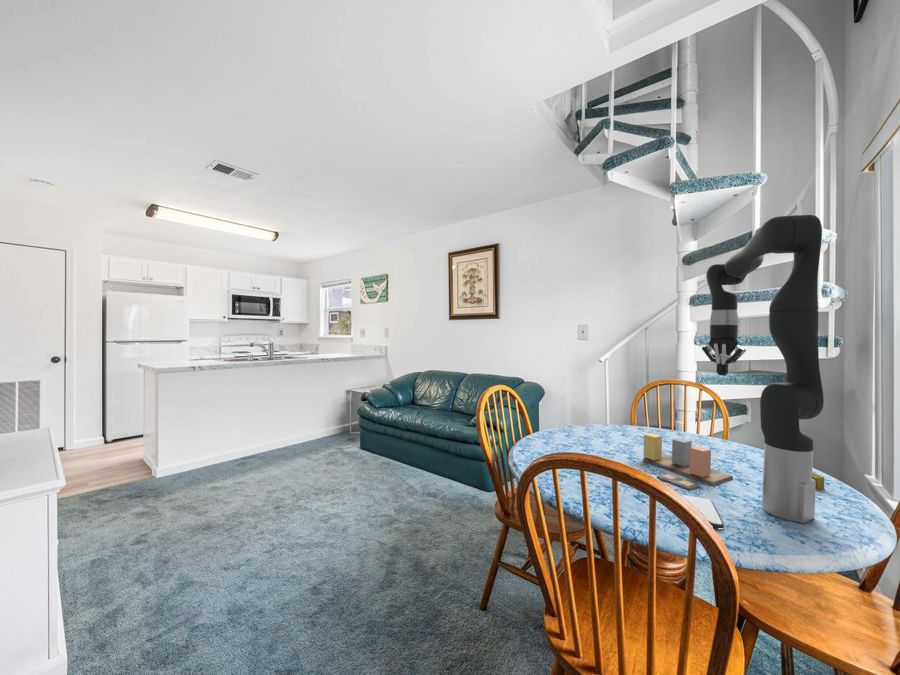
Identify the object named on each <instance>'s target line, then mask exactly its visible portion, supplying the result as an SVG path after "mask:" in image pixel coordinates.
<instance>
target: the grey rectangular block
mask: <svg viewBox="0 0 900 675" xmlns="http://www.w3.org/2000/svg"><path fill="white" fill-rule="evenodd" d="M671 440H672V441H671V443H672V444H671V447H672V448H671V456H672V463H674V464H677V465H680V466H683V467H685V466H688V465H690V448H691V447H693V446H692V445H693V444H692V443H693V441H692V440H689V439H685V438H681V437H678V438H677V437H676V438H673V439H671Z"/></svg>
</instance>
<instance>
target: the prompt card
mask: <svg viewBox="0 0 900 675" xmlns="http://www.w3.org/2000/svg"><path fill="white" fill-rule="evenodd" d="M656 478H657V479H659V480H661V481H664V480H665V481H664V482H666V481H667V483H669V484H672V483H673V484H672V485H674V486H677V487H680V488H682V489H685V490H688V491H692V490H696V489H698V488H700V487H701V485H700V484H698V483H695V482H692V481H691V480H687V479H685V478H684V479H683V478H682V477H678V476H676V475H673V474H670V473H668V472H665V473H664V474H660V475H657V476H656ZM660 478H662V479H660Z"/></svg>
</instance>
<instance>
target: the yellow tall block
mask: <svg viewBox="0 0 900 675" xmlns="http://www.w3.org/2000/svg"><path fill="white" fill-rule="evenodd" d="M662 449H663V436H662V435H660V434H656V433H653V432H651V433H645V434H643V457H642V458H648V459H651V460H659V459H662V452H663V450H662Z"/></svg>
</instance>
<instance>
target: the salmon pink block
mask: <svg viewBox="0 0 900 675" xmlns="http://www.w3.org/2000/svg"><path fill="white" fill-rule="evenodd" d="M711 463H712V449H710V448H706V447H703V446H699V445H696V446H692V447H691V448H690V473H691V474H694V475H697V476H700V477H706V476H709V475H710V473H711V469H712V468H711V466H712V465H711Z"/></svg>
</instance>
